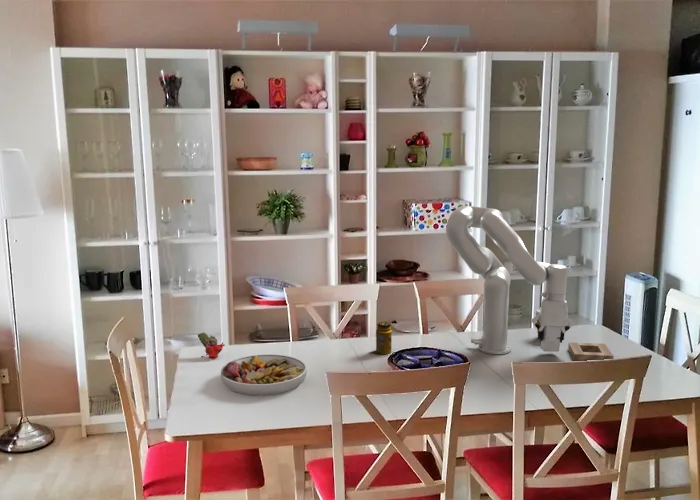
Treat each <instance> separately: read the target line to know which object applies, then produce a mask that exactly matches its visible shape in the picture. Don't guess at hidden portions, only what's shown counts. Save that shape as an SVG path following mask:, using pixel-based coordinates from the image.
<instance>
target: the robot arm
mask: <svg viewBox="0 0 700 500" xmlns="http://www.w3.org/2000/svg"><path fill="white" fill-rule="evenodd" d="M469 228H477V229H478V228H479V229H482V230H483V231H484V233H486V235H487V236H488V237H489V238H490V239H491V240H492V241H493V243H494V244H495V245H496V246H497V247H498V248H499V249H500V250H501V252H502V253H503V254H504V256H505V257H506V258H507V259H508V260H509V263H511V265H512V266H513V268H515V269H516V270H517V272H518V273H519V274H520V275H521V276H522V278H523V279H524V280H525V281H526V282H527V283H528V284H530V285H533V286H540V285H542V284H544V282H545V289H544V292H541V293H540V296H541V297H543V298H542V300H541V303H540V307H539V309H540V313H539V314H538V315H537V316H536V315H535V316H534V317H532V318H531V319H530V321H531V323H532V324H533V326H535V328H536V329H538V330H539V333H538V332H537V339H538V338H540V339H539V341H540V342H541V341H542V340H543V328H544V326H552V327H561V337H560V344H563V341H564V340H565V334H566V332H567V331H569V330H570V328H572V327H573V326H574V325H575V323H574V322H573V321H572V319H571V318H569V316H568V302H567V300H566V293H567V281H568V273H569V272H568V271H569V270H568V267H567V266H566V265H564V264H561V263H560V264H558V263H551V264H550V263H547V262H542V261H537V260H535V258H533V256H532V255H531V254H530V253H529V251H528V250H527V247H526V246H525V244H524V242H523V239H521V237H520V236H519V234H518V233H517V232H516V231H515V229H513V228H512V227H511V225H509V224H508V222H507V221H506V220H505V219H504V215H503V214H502V212H501V211H500V210H498V209H497V208H492V207H491V208H490V207H481V206H473V205H472V206H471V205H461V206H459V207H457V208H456V209H455V210H453V211H452V213H450V215H449V217H448V219H447V221H446V225H445V234H446V237H447V240H448V242H449V243H450V245H451V246H452V247H453V248H454V250H455V251H456V252H457V254H458V256H460V258H461V259H462V260H463V262H464V263H465V264H466V265H467V267H468V268H469V269H470V270H471V272H472V273H474V274H477V275H480V276H481V277H482V278H483V280H484V283H483V321H482V323H483V325H482V335H481V337H479V338H475V337H474V338H473V337H471V338H470V343H471V344H474V345H478V349H479V351H480V352H483V353H485V354H490V355H504V354H508V353H509V352H511V350H512V347H511V346H510V345H509V344H508V327H509V326H508V325H509V303H510V302H509V301H510V286H511V280H512V279H511V275H510V272H509V271H508V269H507V268H506V267H505V265H503V263H502V262H501V261H500V259H498V257H497V256H496V254H495V253H493V251H492V250H491V249H489V248H488V247H486V246H482V245H480V244H479V242H477V240H476V239H475V238H474V236H473V235H472V234H470V231H469ZM538 319H539V321H540V325H538V323H537V320H538Z"/></svg>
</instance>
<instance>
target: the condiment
mask: <svg viewBox="0 0 700 500" xmlns="http://www.w3.org/2000/svg"><path fill="white" fill-rule="evenodd" d="M376 327H377V328H376V333H375V334H376V335H375V338H376V339H375V341H376V343H375V348H376V349H375V350H372V351H368V352H367V354H370V355H373V356H376V357H379V358H384V357H387V356H391V355H392V354H391V353H393V352H394V351H393V350H392V337H393V336H392V333H393V332H392V327H391V323H390V322H389V321H379V322H377V325H376ZM388 354H389V355H388ZM393 354H394V353H393Z"/></svg>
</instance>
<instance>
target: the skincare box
mask: <svg viewBox="0 0 700 500" xmlns="http://www.w3.org/2000/svg"><path fill="white" fill-rule="evenodd" d="M560 337H561V327H552V326H544V328H543V340H542V341H540V349H541V350H542V351H543V352H546V353H547V352H548V353H549V352H550V353H551V352H554V353H555V352H559V351H560V344H561V343H560Z"/></svg>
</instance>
